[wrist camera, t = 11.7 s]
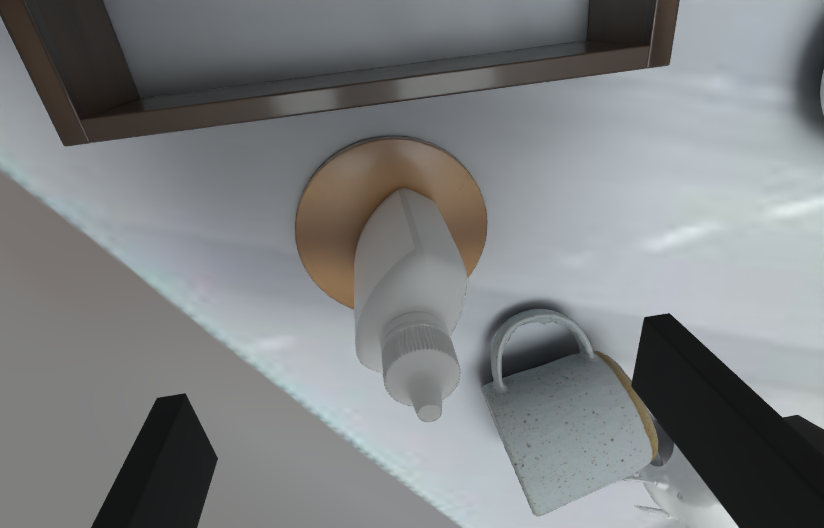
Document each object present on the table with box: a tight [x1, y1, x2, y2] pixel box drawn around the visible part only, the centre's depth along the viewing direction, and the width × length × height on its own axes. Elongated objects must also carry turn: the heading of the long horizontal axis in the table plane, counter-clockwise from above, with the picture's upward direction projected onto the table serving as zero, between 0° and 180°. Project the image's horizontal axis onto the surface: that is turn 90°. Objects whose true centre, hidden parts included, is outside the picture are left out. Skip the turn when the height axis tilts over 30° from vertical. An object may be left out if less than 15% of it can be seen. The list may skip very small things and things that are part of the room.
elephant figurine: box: [622, 443, 739, 528], centre depth 31 cm, size 10×12×9 cm
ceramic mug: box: [482, 309, 658, 516], centre depth 26 cm, size 11×8×8 cm
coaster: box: [295, 136, 487, 309], centre depth 23 cm, size 10×10×1 cm
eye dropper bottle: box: [354, 188, 467, 422], centre depth 18 cm, size 4×6×12 cm
